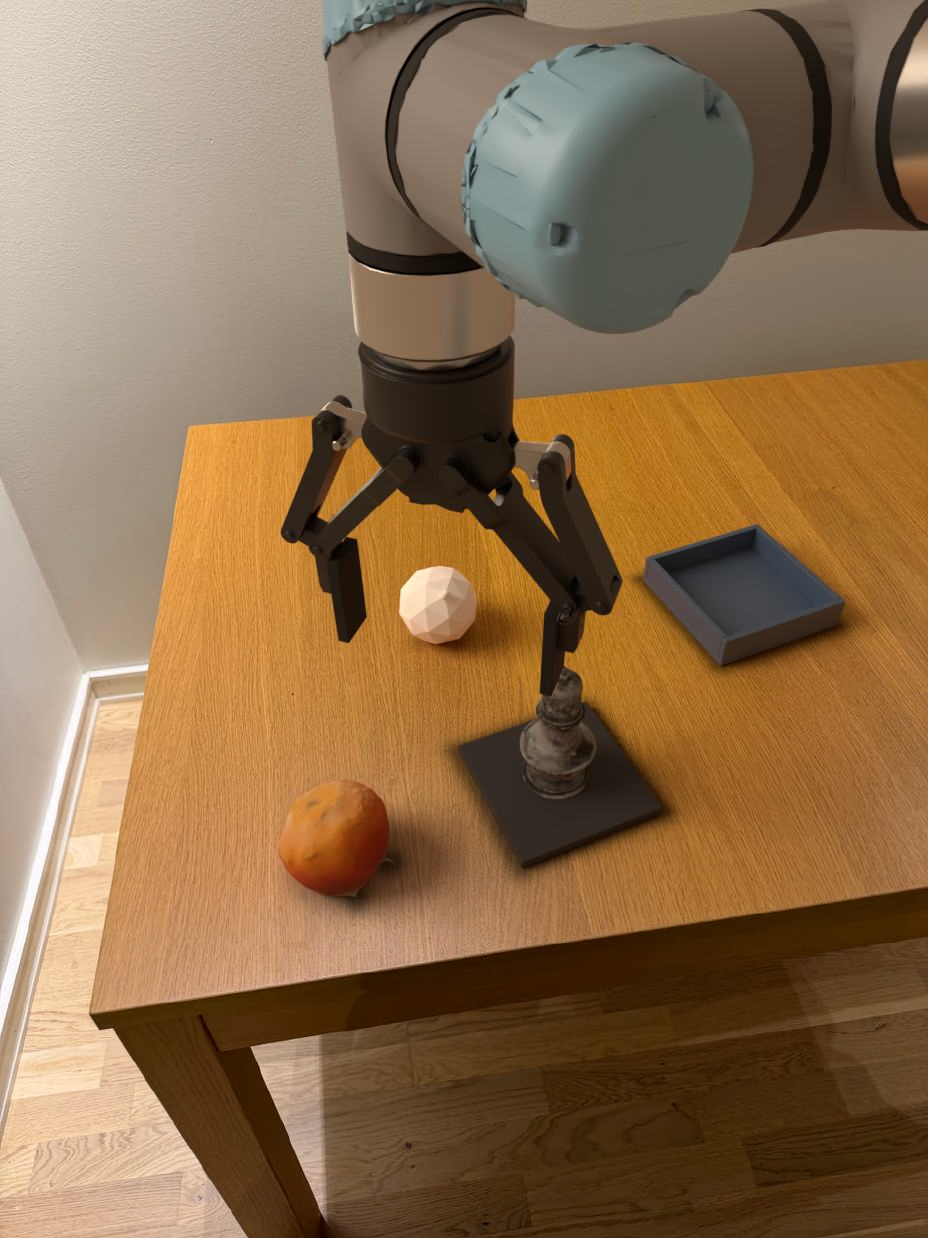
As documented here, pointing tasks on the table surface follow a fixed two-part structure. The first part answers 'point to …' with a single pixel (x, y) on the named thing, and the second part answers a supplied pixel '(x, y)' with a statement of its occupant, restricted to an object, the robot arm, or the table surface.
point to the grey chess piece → (558, 742)
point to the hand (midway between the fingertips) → (449, 654)
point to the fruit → (335, 838)
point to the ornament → (438, 604)
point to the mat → (557, 823)
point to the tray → (741, 593)
